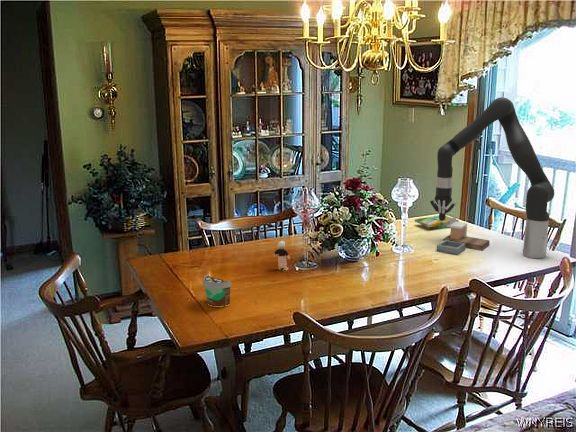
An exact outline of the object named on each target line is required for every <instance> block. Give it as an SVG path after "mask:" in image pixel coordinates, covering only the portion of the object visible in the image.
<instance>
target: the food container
mask: <svg viewBox="0 0 576 432" xmlns="http://www.w3.org/2000/svg"><path fill="white" fill-rule="evenodd" d="M209 275H210V274H209V273H208V274H206V275H205V276H204V277H203V279H202V286H204V290H205V296H206V297H205V298H206V304H207V303H208V304H209V305H212V306H225V305H228V304H230V303H231V288H232V281H231V280H228V281H225V280H223V279H221V278H218V277H217V278H216V277H213V276H209ZM208 304H207V305H208Z"/></svg>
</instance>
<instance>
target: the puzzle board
mask: <svg viewBox="0 0 576 432" xmlns="http://www.w3.org/2000/svg"><path fill="white" fill-rule="evenodd" d="M444 240H449V241H454V242H460V243H465V244H466V245H465V249H469V250H470V249H472V250H477V251H481V252H482V251H484V250H485V249H487V248H488V247H489V246H490V241H491V240H488V239H483V238H478V237H471V236H467V235H466V237H463V238H462V239H461V240H456V239H450V234H448V235H447V236H446V237H445V236H444V238H443V241H444ZM443 241H442V242H443Z"/></svg>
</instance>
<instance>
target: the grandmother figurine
mask: <svg viewBox="0 0 576 432" xmlns="http://www.w3.org/2000/svg"><path fill="white" fill-rule="evenodd" d="M277 247H278V249H276V250H275V251H273V252H274V253H273V256H272V257H274V258H275V257H278V258H277V259H278V260H277V263H278V269H279V271H284V270H286V271H288V270H289V267H287V266H288V265H287V260H290V259H291V257H290V254H289V252H288V250H287V249H285V247H286V241H284V240H281V241H279V242H278V243H277ZM277 255H278V256H277ZM278 269H277V270H278ZM281 269H282V270H281Z"/></svg>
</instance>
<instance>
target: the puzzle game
mask: <svg viewBox="0 0 576 432" xmlns="http://www.w3.org/2000/svg"><path fill="white" fill-rule="evenodd" d="M451 218H452V217H450V216H448V215H446V218H445V220H444V221H440V219H439V215H434V216H427V217H422V218H421V217H420V218H414V222H415V223H417V224H419V225H421V226H422V227H425V228H427V229H430V230H438V229H439V230H440V229H446V228H447V229H448V227H447V221H448V220H450V219H451ZM456 222H460V220H459V219H456Z"/></svg>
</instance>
